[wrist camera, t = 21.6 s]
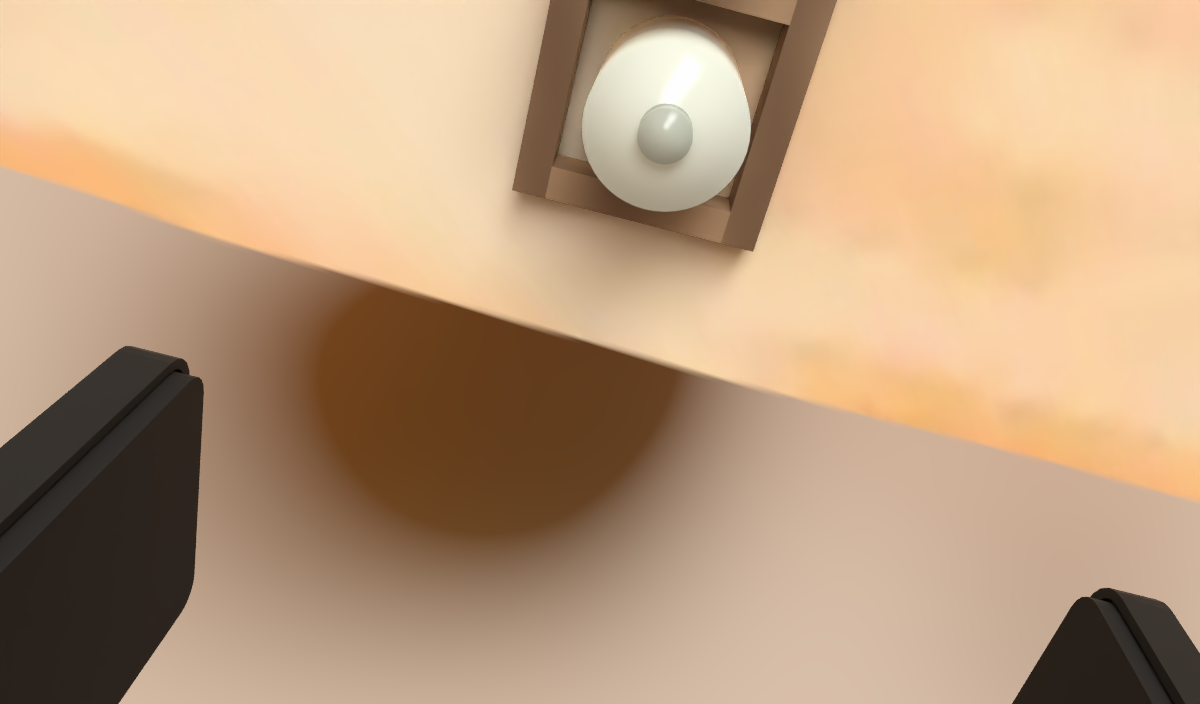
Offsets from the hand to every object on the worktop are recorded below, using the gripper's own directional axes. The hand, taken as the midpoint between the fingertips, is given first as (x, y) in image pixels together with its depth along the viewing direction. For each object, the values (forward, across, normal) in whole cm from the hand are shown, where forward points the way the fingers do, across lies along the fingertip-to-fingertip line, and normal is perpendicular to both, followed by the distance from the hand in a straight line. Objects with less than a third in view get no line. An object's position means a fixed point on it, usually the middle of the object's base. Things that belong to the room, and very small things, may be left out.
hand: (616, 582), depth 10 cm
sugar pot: (+26, 0, 0) cm, 26 cm away
